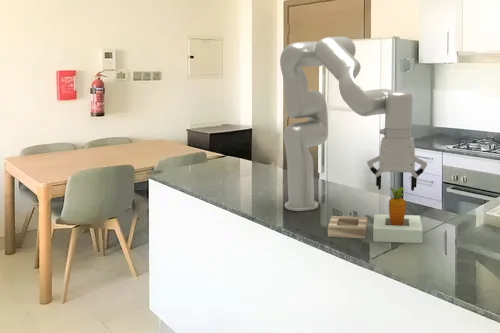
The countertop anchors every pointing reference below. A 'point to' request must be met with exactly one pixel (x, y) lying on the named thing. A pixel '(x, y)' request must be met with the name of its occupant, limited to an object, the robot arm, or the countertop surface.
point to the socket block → (347, 227)
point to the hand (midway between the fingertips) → (395, 188)
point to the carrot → (397, 208)
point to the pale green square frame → (397, 229)
